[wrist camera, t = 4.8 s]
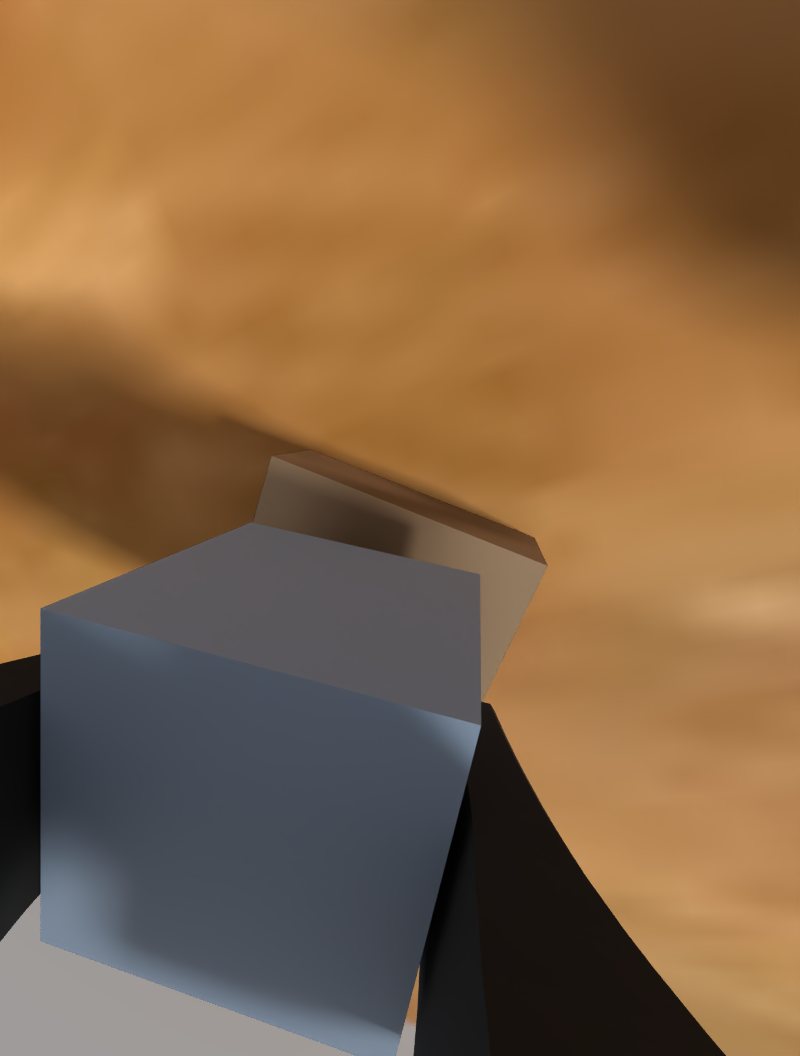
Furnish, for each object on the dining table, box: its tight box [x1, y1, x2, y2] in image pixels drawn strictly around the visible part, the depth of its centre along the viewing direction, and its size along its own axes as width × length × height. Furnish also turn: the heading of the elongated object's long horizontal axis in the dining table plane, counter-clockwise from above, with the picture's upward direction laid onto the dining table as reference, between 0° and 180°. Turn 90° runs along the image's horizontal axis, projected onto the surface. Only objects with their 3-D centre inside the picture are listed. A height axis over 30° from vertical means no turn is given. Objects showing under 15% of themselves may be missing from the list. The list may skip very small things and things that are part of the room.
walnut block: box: [253, 450, 547, 702], centre depth 13 cm, size 7×7×3 cm
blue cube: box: [41, 522, 481, 1056], centre depth 8 cm, size 5×5×5 cm
